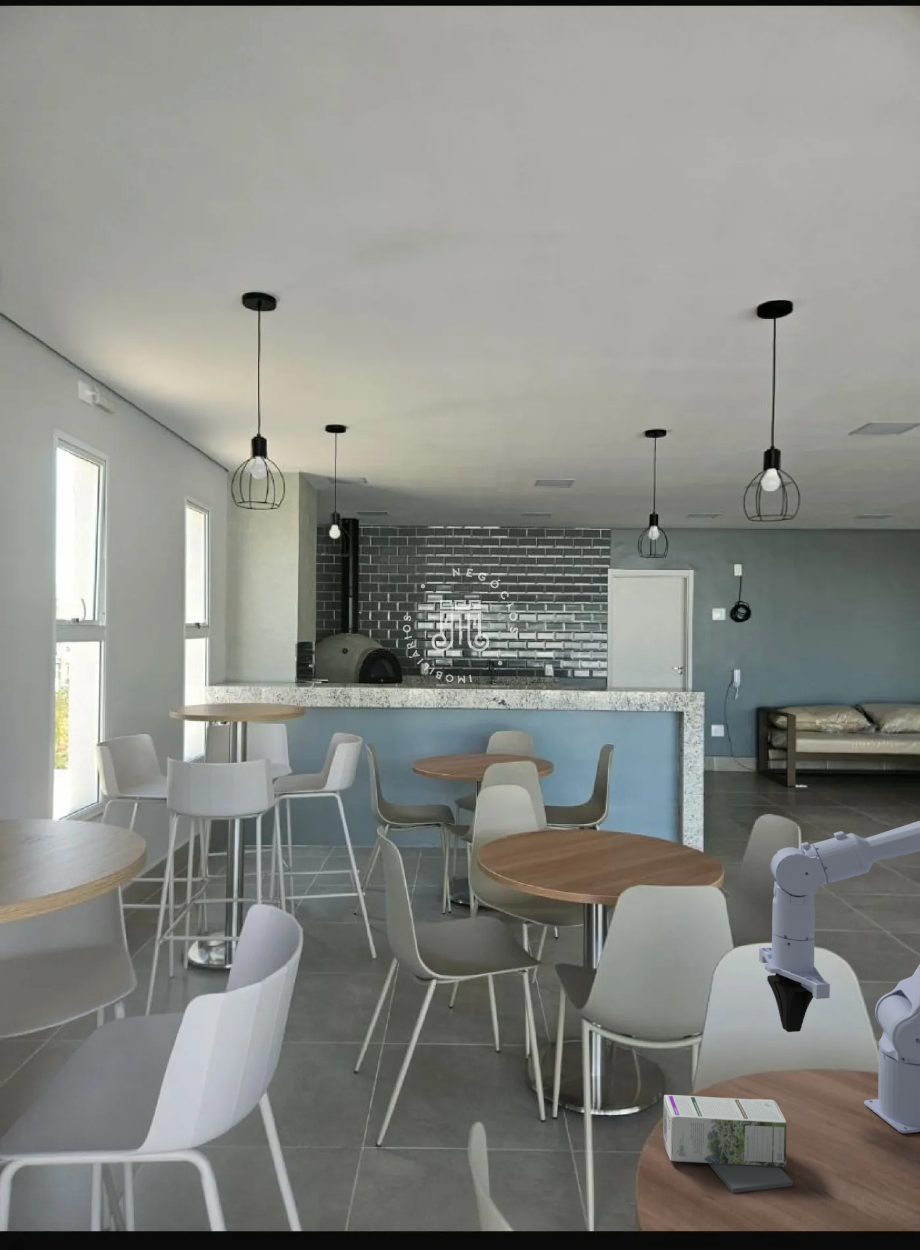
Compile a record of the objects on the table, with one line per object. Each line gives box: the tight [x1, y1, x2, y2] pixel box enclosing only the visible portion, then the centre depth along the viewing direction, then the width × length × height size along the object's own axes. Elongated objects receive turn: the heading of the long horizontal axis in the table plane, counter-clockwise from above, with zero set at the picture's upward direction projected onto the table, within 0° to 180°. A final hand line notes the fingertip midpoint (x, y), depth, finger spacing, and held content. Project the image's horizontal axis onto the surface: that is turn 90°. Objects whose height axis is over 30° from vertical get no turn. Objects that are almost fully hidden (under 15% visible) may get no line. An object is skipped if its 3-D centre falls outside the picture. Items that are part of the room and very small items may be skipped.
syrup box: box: [662, 1094, 788, 1168], centre depth 111 cm, size 6×6×14 cm
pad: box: [707, 1163, 794, 1194], centre depth 109 cm, size 8×9×1 cm
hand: (791, 1029), depth 125 cm, fingers closed
